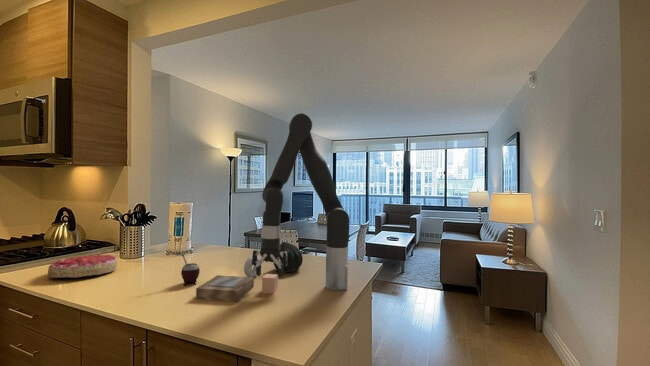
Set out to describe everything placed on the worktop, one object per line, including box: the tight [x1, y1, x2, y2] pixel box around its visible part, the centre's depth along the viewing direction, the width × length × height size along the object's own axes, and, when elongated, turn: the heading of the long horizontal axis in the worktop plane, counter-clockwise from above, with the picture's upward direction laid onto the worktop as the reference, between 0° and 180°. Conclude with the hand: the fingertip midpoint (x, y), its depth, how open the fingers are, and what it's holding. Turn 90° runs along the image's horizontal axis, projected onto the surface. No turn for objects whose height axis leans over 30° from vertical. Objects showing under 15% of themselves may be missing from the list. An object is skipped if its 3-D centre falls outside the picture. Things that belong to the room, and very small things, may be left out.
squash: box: [272, 241, 304, 273], centre depth 147 cm, size 14×15×15 cm
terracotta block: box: [261, 273, 279, 294], centre depth 118 cm, size 5×5×6 cm
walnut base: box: [195, 274, 255, 303], centre depth 115 cm, size 16×16×4 cm
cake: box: [47, 254, 118, 280], centre depth 136 cm, size 25×25×8 cm
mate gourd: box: [175, 249, 200, 287], centre depth 125 cm, size 8×8×15 cm
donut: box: [243, 255, 261, 278], centre depth 135 cm, size 10×4×10 cm, turn 153°
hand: (269, 276), depth 119 cm, fingers open, 8 cm apart
